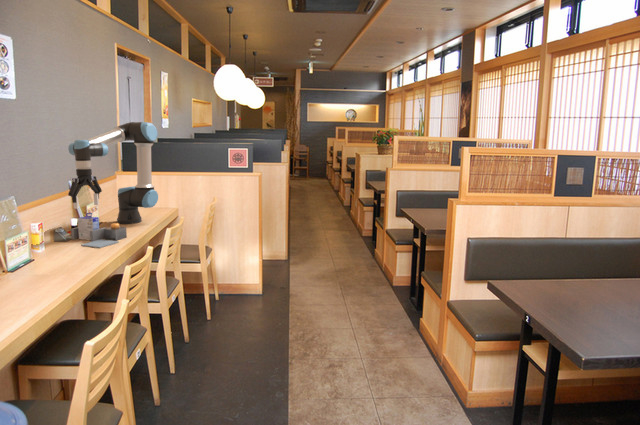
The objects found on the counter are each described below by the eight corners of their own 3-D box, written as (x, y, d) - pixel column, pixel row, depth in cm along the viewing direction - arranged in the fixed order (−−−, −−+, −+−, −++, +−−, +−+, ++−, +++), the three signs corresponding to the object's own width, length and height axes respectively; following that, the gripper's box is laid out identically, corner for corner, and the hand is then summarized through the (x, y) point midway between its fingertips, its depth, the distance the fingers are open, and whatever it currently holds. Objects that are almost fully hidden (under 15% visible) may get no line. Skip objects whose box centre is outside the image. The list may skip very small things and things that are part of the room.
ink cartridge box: (100, 238, 265) (98, 212, 262) (94, 240, 260) (92, 214, 257) (85, 237, 267) (83, 212, 264) (78, 239, 261) (76, 213, 259)
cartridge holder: (86, 235, 271) (85, 225, 270) (107, 238, 265) (106, 227, 264) (71, 239, 261) (70, 228, 260) (93, 242, 256) (92, 231, 255)
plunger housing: (115, 236, 269) (115, 226, 268) (126, 237, 266) (126, 227, 265) (104, 239, 262) (104, 228, 261) (115, 240, 259) (115, 230, 258)
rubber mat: (100, 240, 260) (100, 239, 260) (118, 242, 255) (118, 241, 255) (81, 245, 248) (81, 244, 248) (99, 248, 243) (99, 247, 243)
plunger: (115, 234, 266) (114, 222, 265) (121, 234, 265) (120, 223, 264) (109, 235, 262) (108, 224, 261) (115, 236, 261) (114, 225, 260)
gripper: (96, 166, 269) (99, 203, 272) (58, 169, 246) (62, 209, 249) (106, 167, 266) (109, 204, 270) (69, 170, 243) (72, 210, 247)
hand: (86, 206), depth 260 cm, fingers open, 13 cm apart
